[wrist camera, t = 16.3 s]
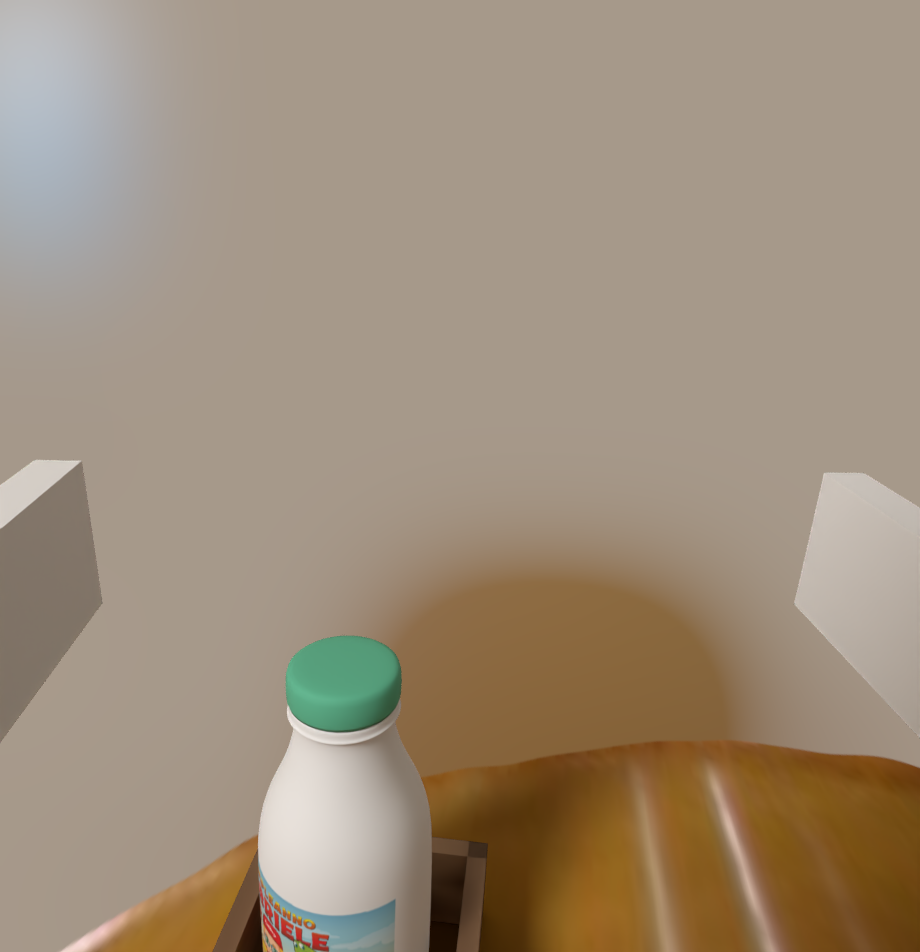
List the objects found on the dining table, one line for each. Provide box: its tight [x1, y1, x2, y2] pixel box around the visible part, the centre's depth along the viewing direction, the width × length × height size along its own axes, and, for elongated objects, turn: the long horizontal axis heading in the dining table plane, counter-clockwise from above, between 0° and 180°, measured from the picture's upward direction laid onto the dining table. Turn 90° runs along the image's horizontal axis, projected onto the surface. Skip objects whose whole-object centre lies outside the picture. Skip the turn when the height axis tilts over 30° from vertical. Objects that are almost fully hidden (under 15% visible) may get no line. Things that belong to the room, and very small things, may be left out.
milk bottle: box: [258, 636, 432, 952], centre depth 34 cm, size 8×8×20 cm
